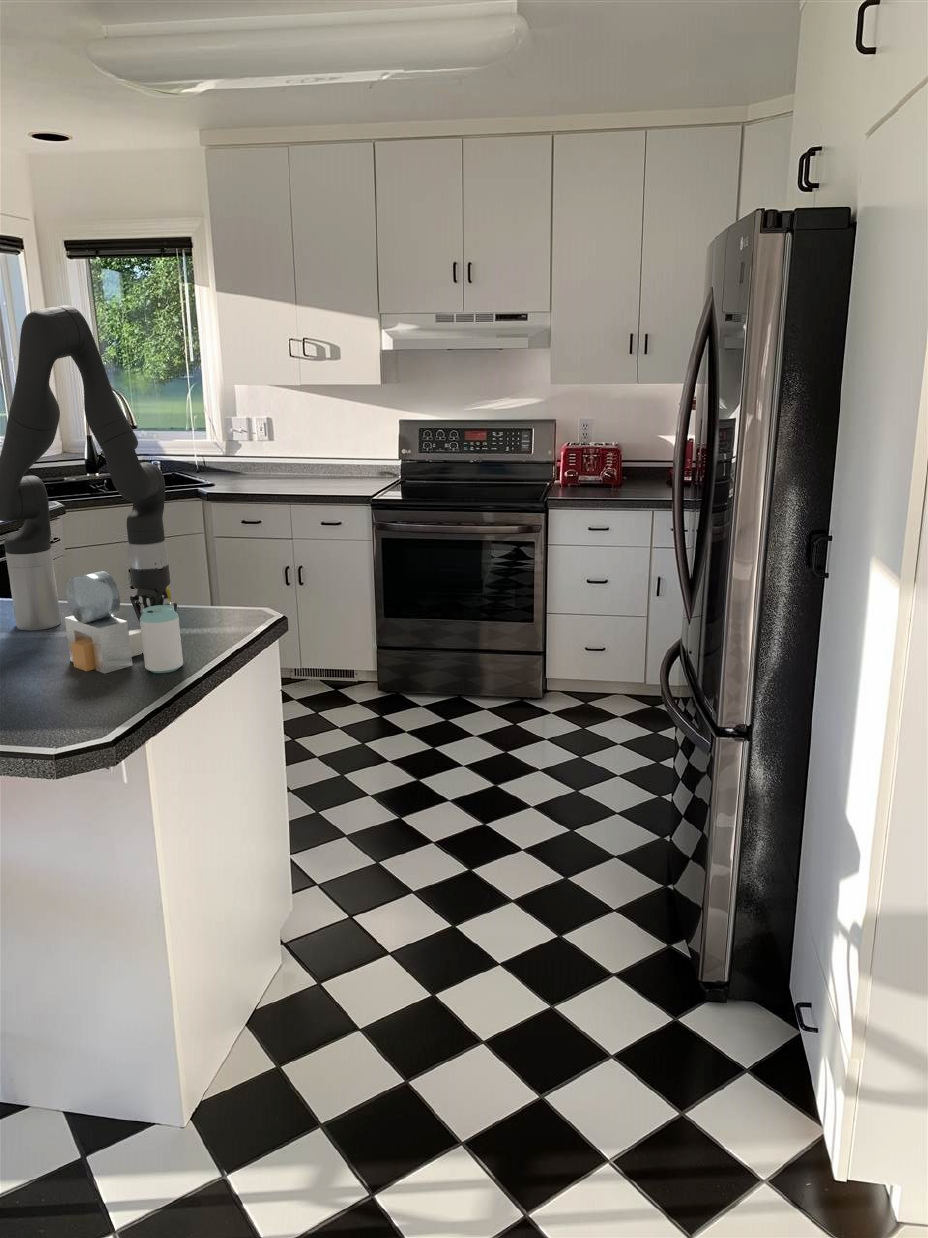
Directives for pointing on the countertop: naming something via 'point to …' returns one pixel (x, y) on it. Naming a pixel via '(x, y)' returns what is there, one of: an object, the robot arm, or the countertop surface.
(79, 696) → the countertop surface
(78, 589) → the cylinder
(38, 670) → the countertop surface
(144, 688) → the countertop surface
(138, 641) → the plug
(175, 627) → the can
